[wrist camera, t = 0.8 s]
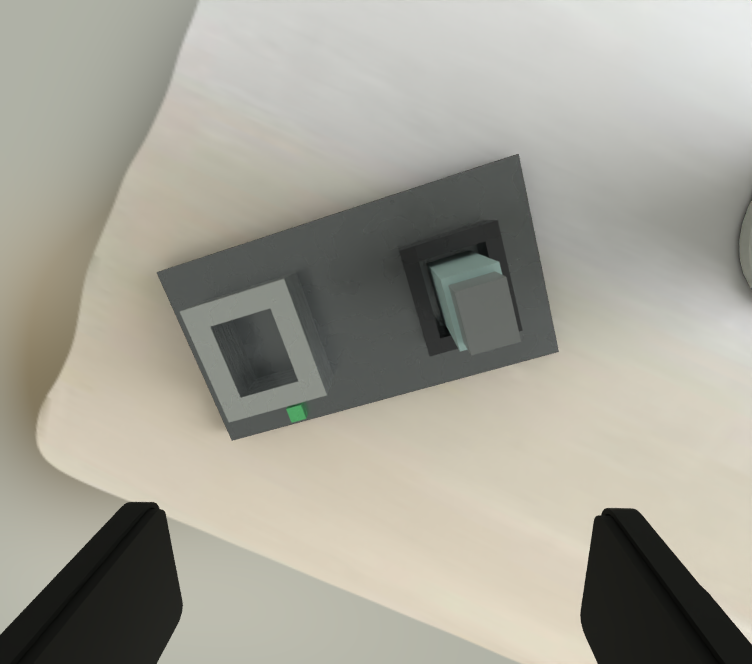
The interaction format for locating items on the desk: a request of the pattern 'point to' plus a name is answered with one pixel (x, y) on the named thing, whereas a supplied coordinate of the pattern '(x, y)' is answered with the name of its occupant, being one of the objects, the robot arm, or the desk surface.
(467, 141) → the desk surface
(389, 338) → the panel
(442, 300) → the plug
